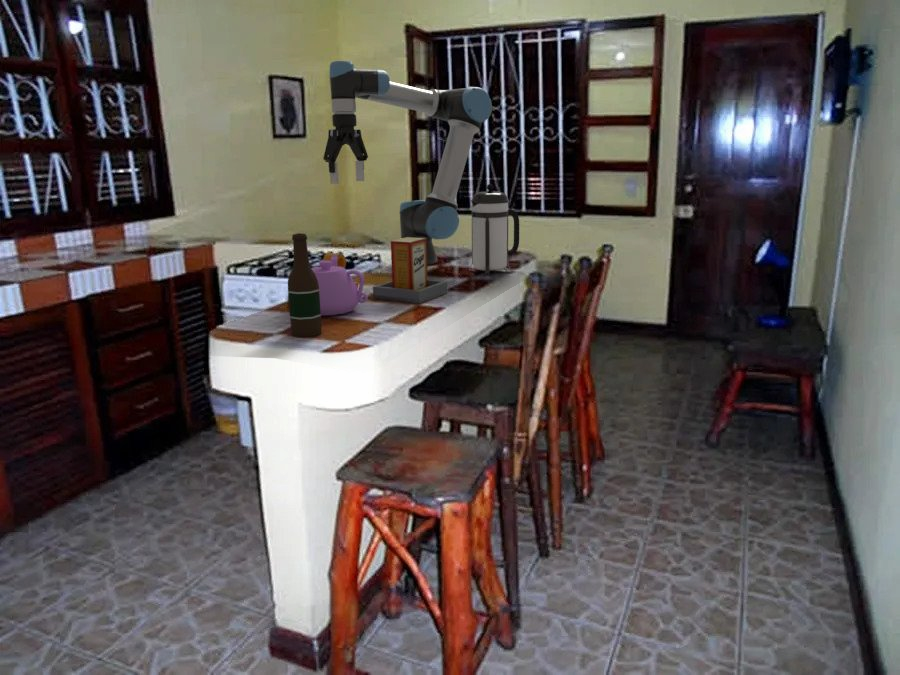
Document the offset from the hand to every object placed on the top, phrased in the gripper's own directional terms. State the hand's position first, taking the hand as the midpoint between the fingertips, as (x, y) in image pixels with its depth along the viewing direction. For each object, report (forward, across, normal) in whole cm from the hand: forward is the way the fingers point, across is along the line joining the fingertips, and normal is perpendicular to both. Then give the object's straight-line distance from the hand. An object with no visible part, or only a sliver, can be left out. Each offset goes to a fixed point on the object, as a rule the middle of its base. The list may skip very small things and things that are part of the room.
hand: (347, 182), depth 226 cm
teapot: (+32, +38, +21) cm, 54 cm away
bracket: (+32, +20, +10) cm, 39 cm away
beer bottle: (+32, +61, +32) cm, 76 cm away
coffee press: (+32, -32, +37) cm, 58 cm away
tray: (+32, +14, +32) cm, 47 cm away
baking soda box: (+31, +14, +32) cm, 46 cm away
